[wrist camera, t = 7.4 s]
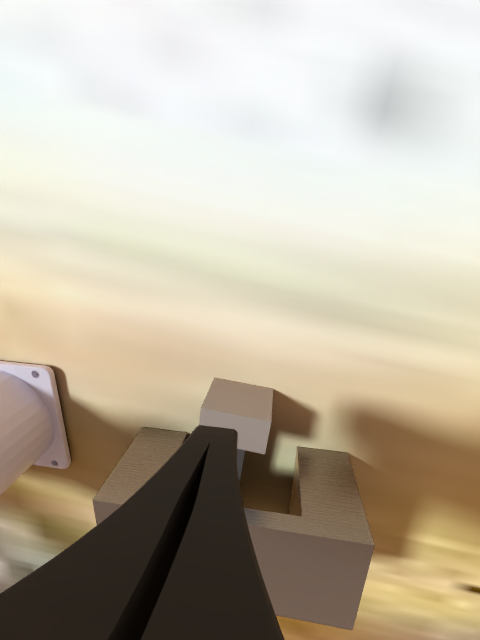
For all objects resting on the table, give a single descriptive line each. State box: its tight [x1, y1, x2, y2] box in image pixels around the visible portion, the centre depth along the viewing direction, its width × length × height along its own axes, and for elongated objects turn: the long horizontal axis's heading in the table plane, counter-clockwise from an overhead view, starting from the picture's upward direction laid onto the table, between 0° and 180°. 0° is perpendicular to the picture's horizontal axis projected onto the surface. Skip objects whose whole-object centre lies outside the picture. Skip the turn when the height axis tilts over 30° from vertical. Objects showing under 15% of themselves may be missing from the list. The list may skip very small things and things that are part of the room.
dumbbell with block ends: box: [199, 378, 273, 484], centre depth 18 cm, size 4×16×3 cm, turn 173°
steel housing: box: [93, 427, 375, 630], centre depth 16 cm, size 13×6×5 cm, turn 88°
